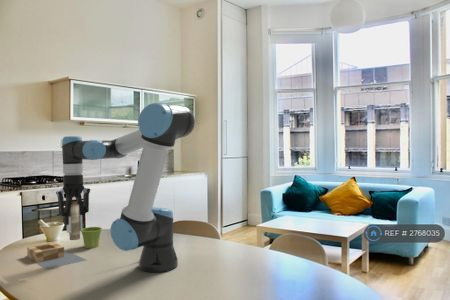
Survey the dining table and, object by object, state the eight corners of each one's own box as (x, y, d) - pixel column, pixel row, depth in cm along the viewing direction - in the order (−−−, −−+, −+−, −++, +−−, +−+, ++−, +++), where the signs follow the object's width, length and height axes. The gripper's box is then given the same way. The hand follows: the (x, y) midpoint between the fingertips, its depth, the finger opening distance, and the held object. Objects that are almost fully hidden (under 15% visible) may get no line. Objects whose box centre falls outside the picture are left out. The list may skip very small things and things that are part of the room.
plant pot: (98, 250, 173) (98, 231, 173) (77, 250, 174) (77, 231, 173) (105, 244, 183) (104, 226, 183) (85, 244, 183) (85, 226, 183)
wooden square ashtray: (64, 256, 163) (64, 247, 162) (37, 262, 155) (36, 252, 155) (53, 251, 170) (53, 242, 170) (27, 256, 162) (27, 247, 162)
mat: (86, 261, 158) (86, 260, 158) (46, 270, 146) (46, 269, 146) (62, 249, 174) (62, 248, 174) (24, 257, 163) (24, 256, 163)
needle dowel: (81, 238, 156) (80, 200, 156) (72, 240, 154) (71, 201, 153) (77, 237, 159) (76, 199, 159) (67, 239, 156) (66, 200, 156)
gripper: (88, 172, 165) (90, 226, 165) (47, 175, 153) (49, 234, 153) (97, 173, 160) (98, 229, 160) (55, 176, 147) (57, 236, 148)
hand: (74, 231), depth 156 cm, fingers closed on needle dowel, 4 cm apart
